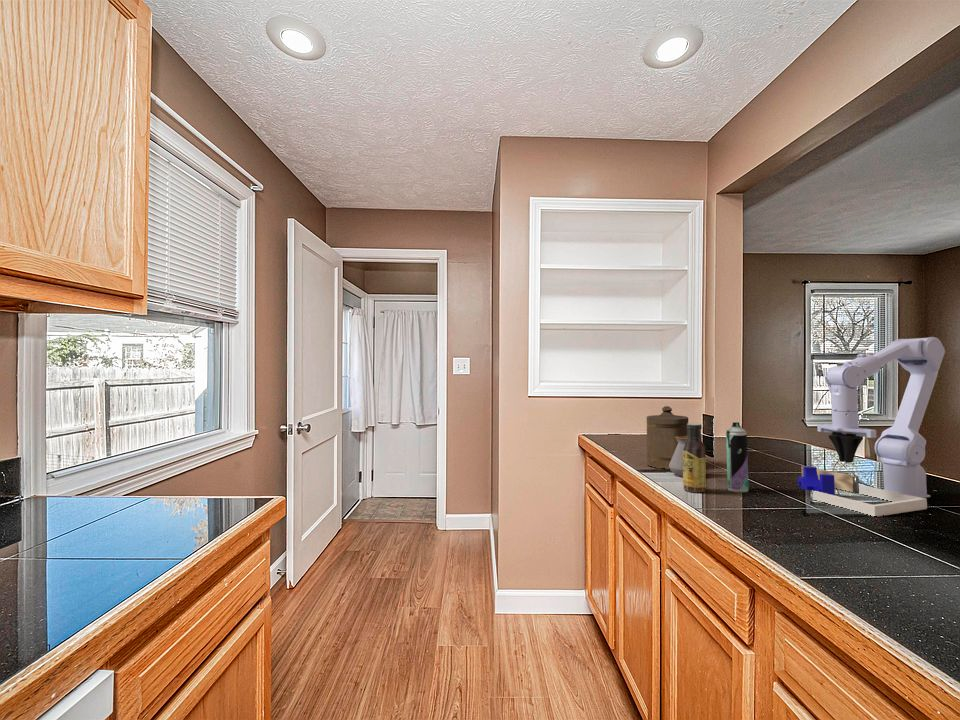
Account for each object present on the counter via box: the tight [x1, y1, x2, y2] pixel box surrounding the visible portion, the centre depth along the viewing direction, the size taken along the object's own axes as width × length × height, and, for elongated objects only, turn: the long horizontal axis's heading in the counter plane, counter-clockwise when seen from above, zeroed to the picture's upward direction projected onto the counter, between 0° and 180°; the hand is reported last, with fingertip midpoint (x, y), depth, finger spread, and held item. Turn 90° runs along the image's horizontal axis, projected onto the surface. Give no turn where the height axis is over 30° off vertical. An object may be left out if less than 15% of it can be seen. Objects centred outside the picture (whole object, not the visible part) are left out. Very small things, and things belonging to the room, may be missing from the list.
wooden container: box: [646, 405, 689, 470], centre depth 187 cm, size 15×15×22 cm
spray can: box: [725, 421, 750, 493], centre depth 149 cm, size 6×6×20 cm
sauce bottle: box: [682, 422, 707, 493], centre depth 149 cm, size 7×6×20 cm
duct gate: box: [800, 465, 855, 493], centre depth 151 cm, size 16×1×4 cm, turn 17°
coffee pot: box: [669, 436, 687, 478], centre depth 166 cm, size 21×12×15 cm, turn 168°
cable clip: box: [797, 466, 836, 496], centre depth 146 cm, size 12×4×6 cm, turn 169°
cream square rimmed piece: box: [812, 475, 928, 517], centre depth 132 cm, size 18×18×5 cm
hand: (846, 461), depth 135 cm, fingers closed
